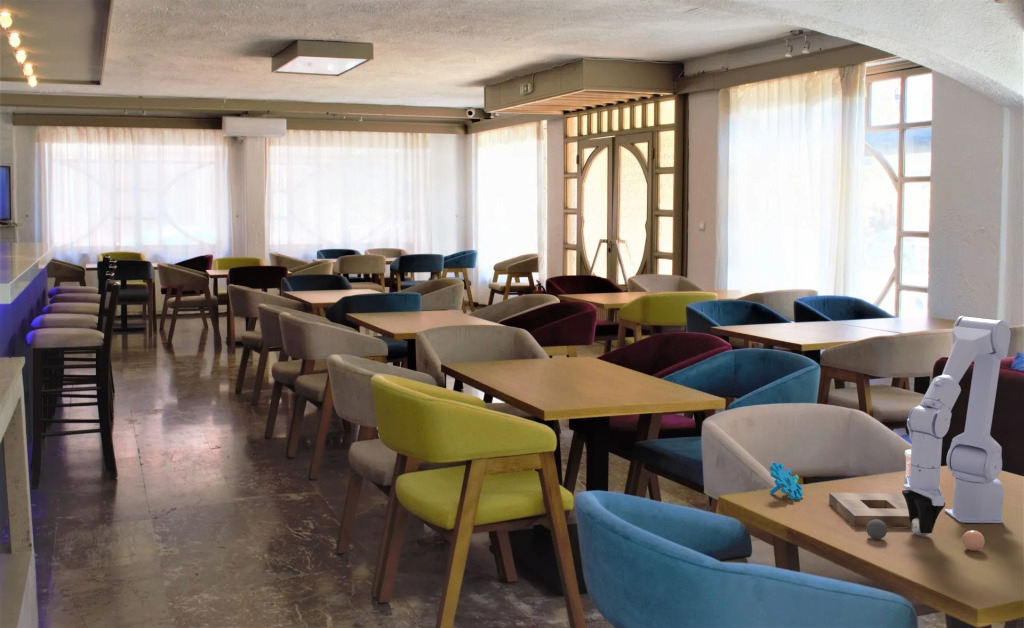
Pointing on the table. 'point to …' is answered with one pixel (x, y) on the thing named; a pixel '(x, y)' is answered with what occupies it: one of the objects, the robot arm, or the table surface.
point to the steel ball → (917, 527)
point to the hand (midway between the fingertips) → (921, 529)
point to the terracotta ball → (973, 540)
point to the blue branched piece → (785, 481)
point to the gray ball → (876, 529)
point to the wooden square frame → (872, 508)
